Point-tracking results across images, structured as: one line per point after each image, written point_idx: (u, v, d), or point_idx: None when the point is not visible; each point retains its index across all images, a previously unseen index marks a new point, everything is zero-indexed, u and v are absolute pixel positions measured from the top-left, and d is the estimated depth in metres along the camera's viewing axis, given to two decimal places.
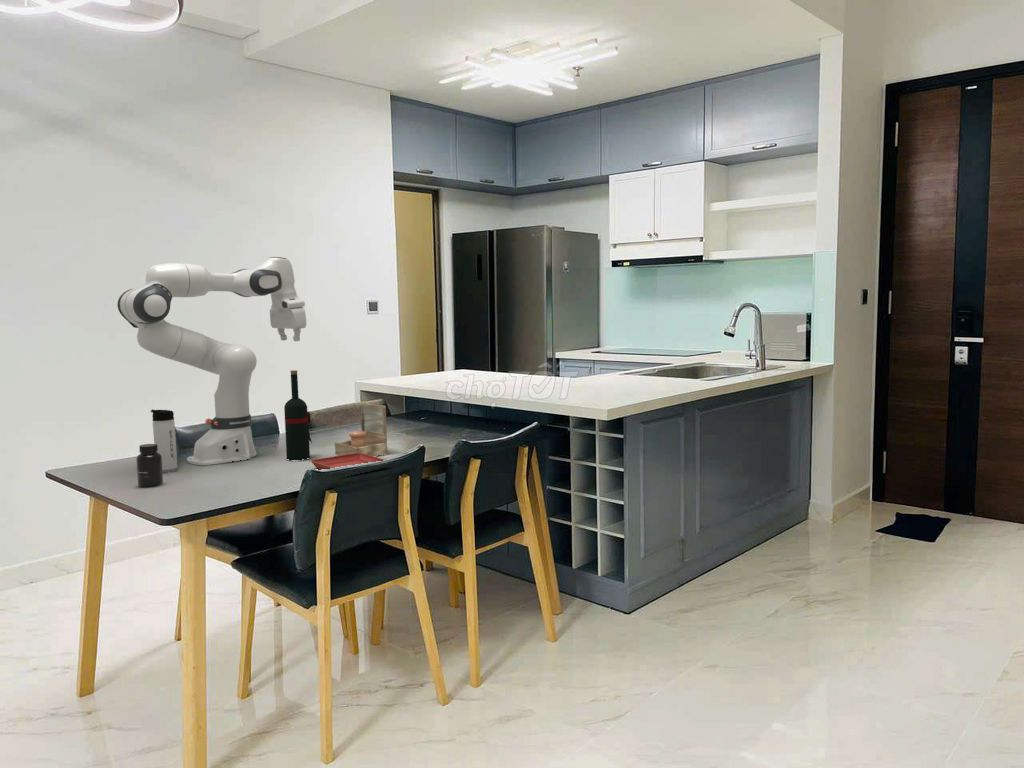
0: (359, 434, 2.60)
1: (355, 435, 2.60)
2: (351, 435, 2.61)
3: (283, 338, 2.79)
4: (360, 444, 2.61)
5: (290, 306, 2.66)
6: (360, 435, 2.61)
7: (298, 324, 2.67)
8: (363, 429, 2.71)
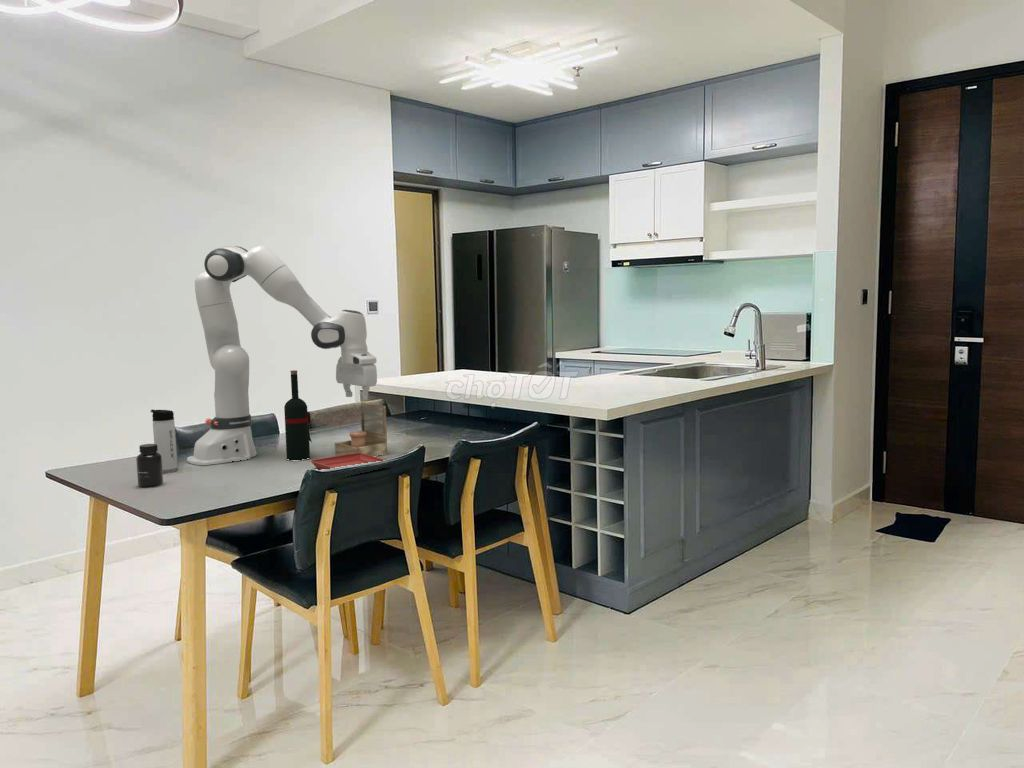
0: (359, 434, 2.60)
1: (355, 435, 2.60)
2: (351, 435, 2.61)
3: (348, 395, 2.64)
4: (360, 444, 2.61)
5: (362, 362, 2.52)
6: (360, 435, 2.61)
7: (369, 382, 2.53)
8: (363, 429, 2.71)
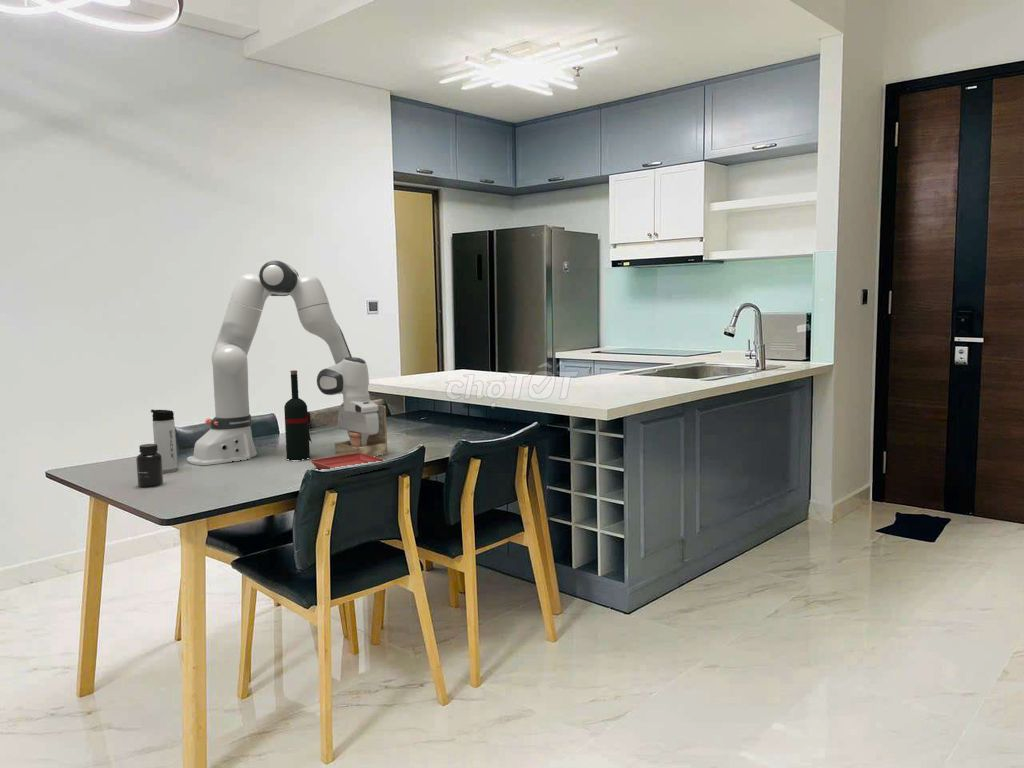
0: (359, 434, 2.60)
1: (355, 435, 2.60)
2: (351, 435, 2.61)
3: None
4: None
5: (364, 411, 2.54)
6: (360, 435, 2.61)
7: (370, 430, 2.55)
8: None
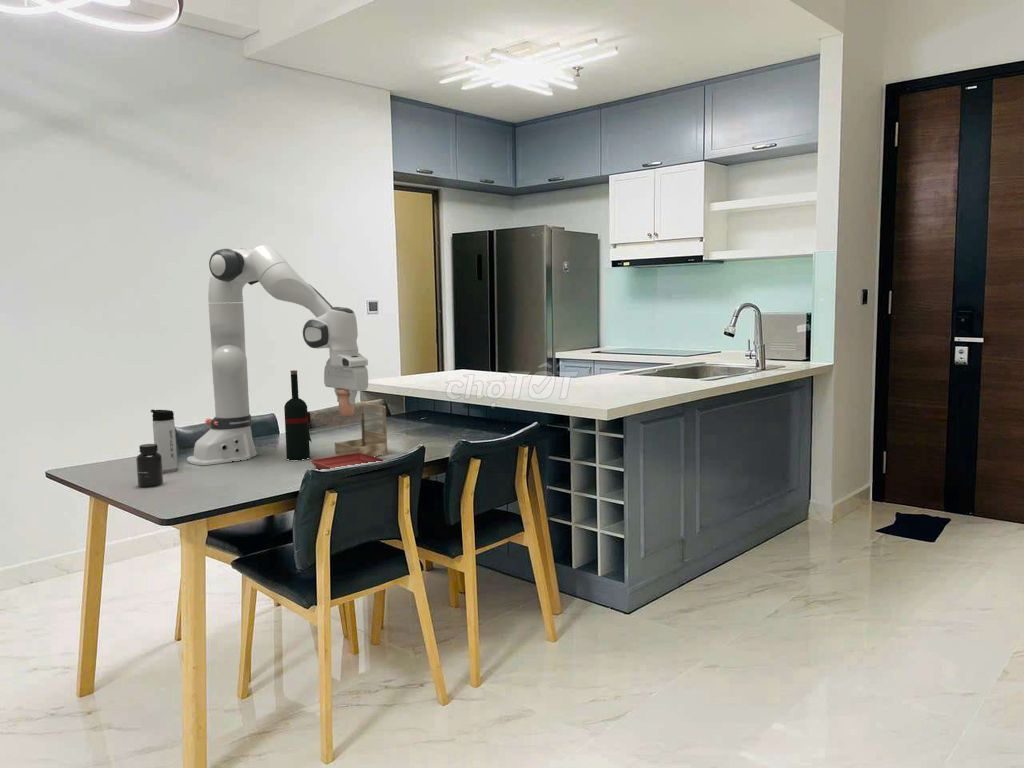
0: (347, 391, 2.37)
1: (343, 392, 2.37)
2: (338, 392, 2.38)
3: None
4: None
5: (352, 365, 2.31)
6: (348, 392, 2.38)
7: (359, 386, 2.32)
8: (363, 429, 2.71)
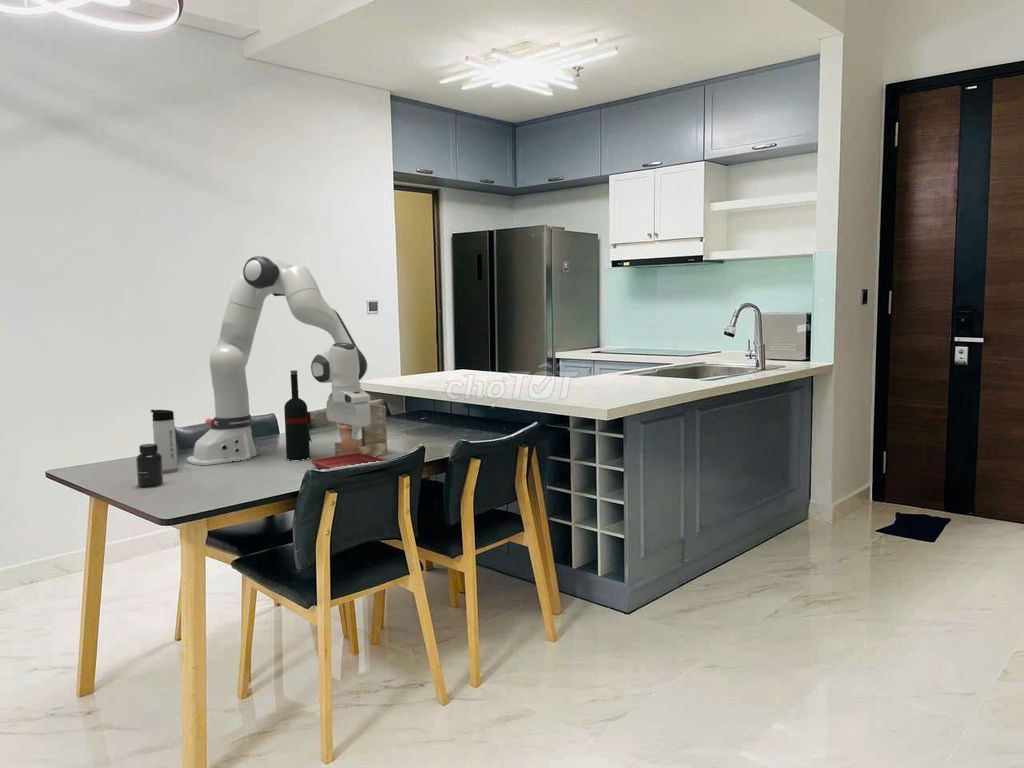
0: (350, 426, 2.39)
1: (345, 427, 2.39)
2: (341, 428, 2.39)
3: None
4: None
5: (354, 401, 2.33)
6: None
7: (361, 422, 2.33)
8: (363, 429, 2.71)
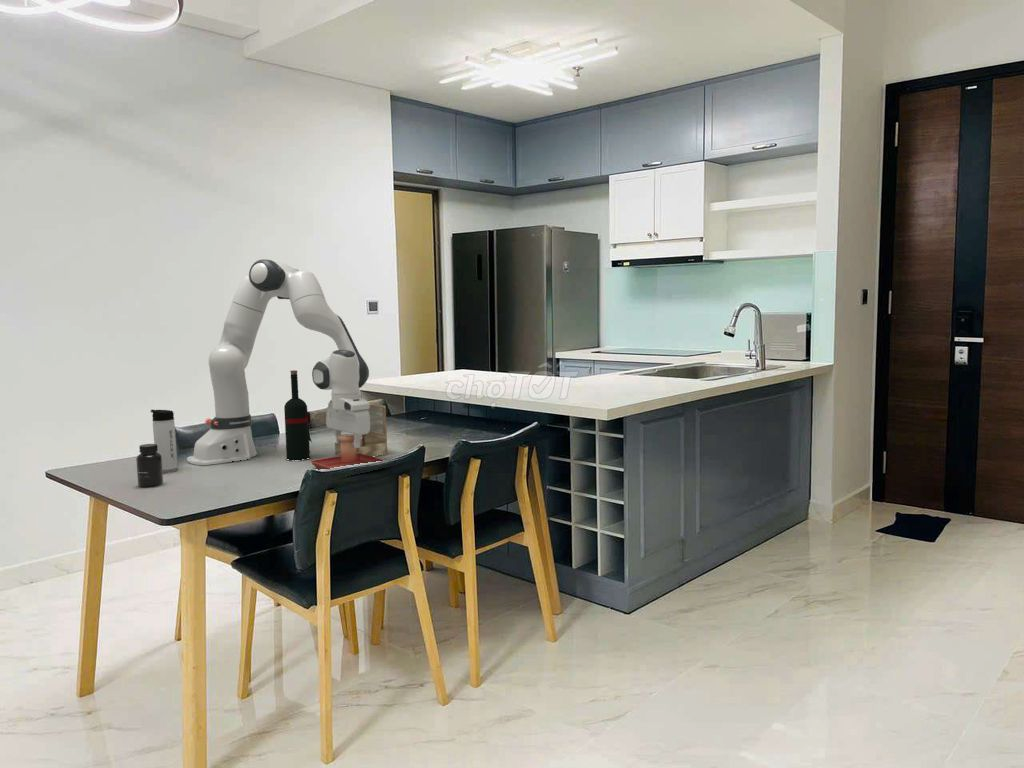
0: (349, 438, 2.39)
1: (345, 439, 2.39)
2: (340, 439, 2.40)
3: (339, 441, 2.44)
4: (350, 449, 2.40)
5: (354, 409, 2.33)
6: (350, 439, 2.39)
7: (361, 430, 2.33)
8: None
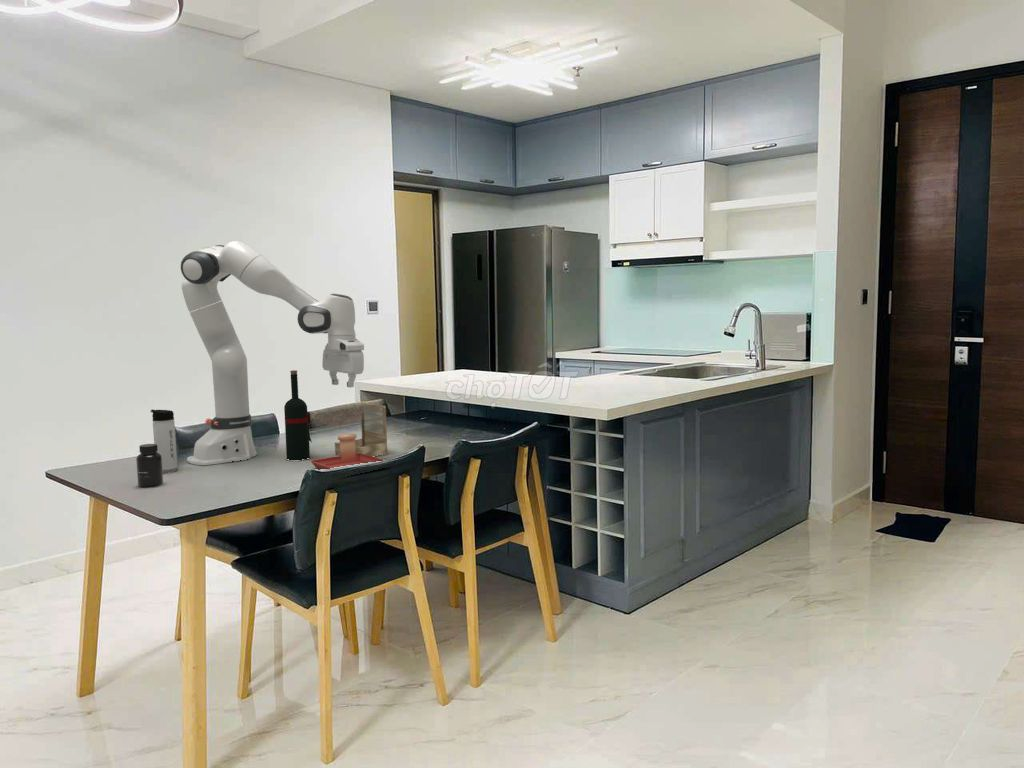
0: (349, 436, 2.39)
1: (344, 438, 2.39)
2: (340, 438, 2.40)
3: (334, 382, 2.54)
4: (350, 448, 2.40)
5: (348, 349, 2.42)
6: (350, 437, 2.40)
7: (355, 369, 2.43)
8: (363, 429, 2.71)
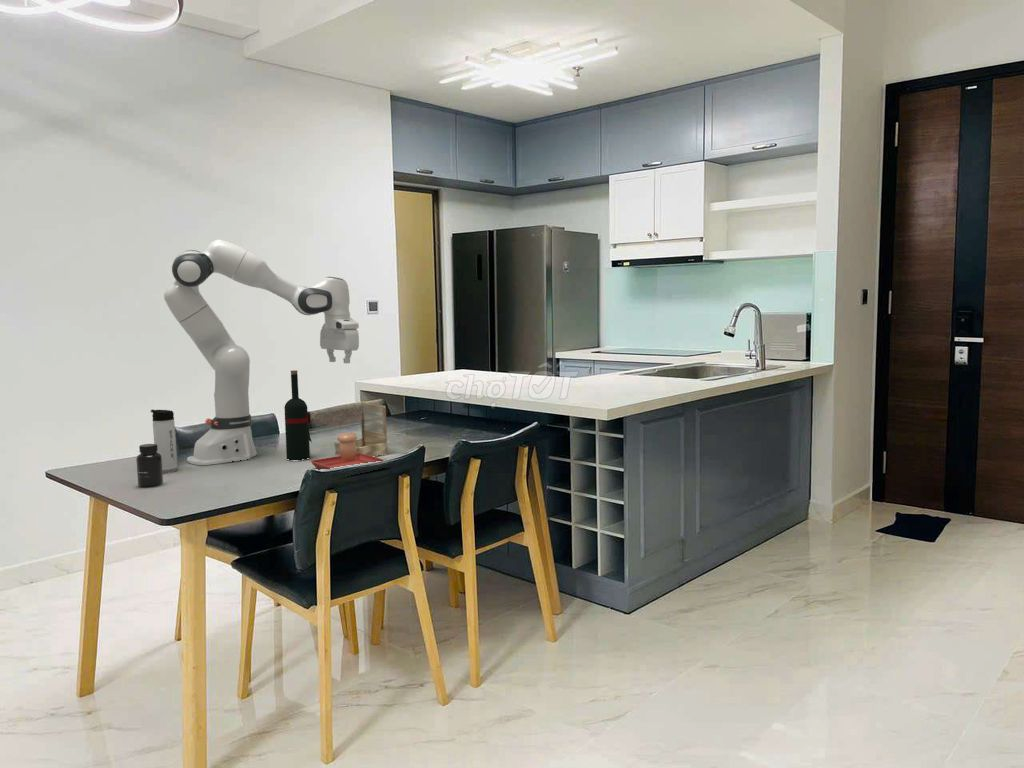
0: (352, 438, 2.38)
1: (348, 440, 2.38)
2: (343, 440, 2.38)
3: (332, 360, 2.73)
4: (353, 449, 2.40)
5: (344, 327, 2.61)
6: (353, 439, 2.39)
7: (351, 346, 2.62)
8: (363, 429, 2.71)
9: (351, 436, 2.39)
